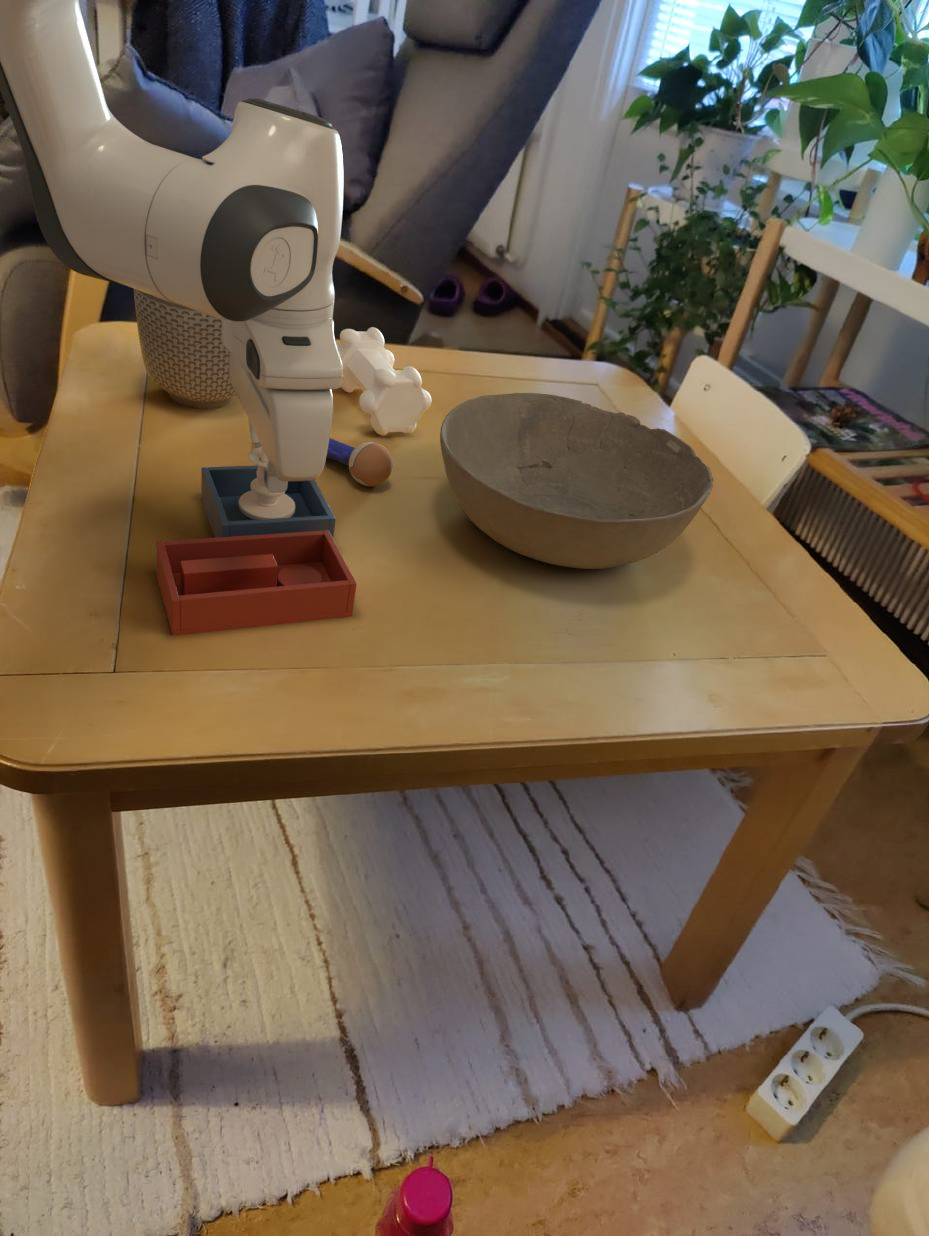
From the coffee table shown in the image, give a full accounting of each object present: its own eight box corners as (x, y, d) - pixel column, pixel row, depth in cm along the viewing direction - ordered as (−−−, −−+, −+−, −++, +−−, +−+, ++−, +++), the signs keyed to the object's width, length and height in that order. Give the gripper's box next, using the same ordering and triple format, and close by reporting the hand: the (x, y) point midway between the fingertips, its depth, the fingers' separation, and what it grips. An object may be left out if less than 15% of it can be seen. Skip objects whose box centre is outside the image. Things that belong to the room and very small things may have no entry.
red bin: (172, 637, 68) (171, 600, 66) (156, 576, 74) (155, 541, 72) (352, 617, 75) (356, 583, 72) (325, 562, 80) (328, 529, 78)
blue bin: (222, 559, 78) (222, 525, 76) (201, 499, 85) (201, 467, 83) (332, 550, 82) (335, 518, 80) (303, 494, 89) (306, 463, 87)
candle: (287, 492, 85) (294, 392, 79) (301, 521, 81) (310, 418, 75) (233, 494, 83) (236, 392, 77) (244, 524, 79) (249, 419, 73)
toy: (270, 450, 97) (366, 491, 89) (278, 409, 96) (377, 447, 88) (299, 453, 101) (395, 493, 93) (308, 414, 100) (406, 451, 92)
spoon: (186, 612, 70) (186, 580, 68) (178, 585, 73) (178, 553, 71) (326, 599, 75) (329, 568, 73) (314, 573, 78) (317, 543, 76)
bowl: (730, 569, 93) (766, 488, 87) (542, 636, 78) (571, 542, 72) (561, 450, 109) (582, 374, 103) (376, 486, 93) (389, 399, 87)
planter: (264, 427, 99) (270, 314, 91) (134, 419, 95) (129, 300, 87) (258, 376, 109) (263, 271, 102) (141, 367, 105) (136, 256, 98)
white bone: (429, 438, 105) (440, 373, 100) (361, 440, 101) (370, 374, 96) (383, 384, 115) (391, 323, 110) (320, 385, 111) (326, 322, 106)
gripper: (213, 280, 78) (211, 422, 86) (268, 377, 64) (259, 536, 72) (283, 284, 80) (275, 422, 88) (350, 378, 66) (333, 531, 74)
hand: (268, 474), depth 80 cm, fingers closed on candle, 4 cm apart
